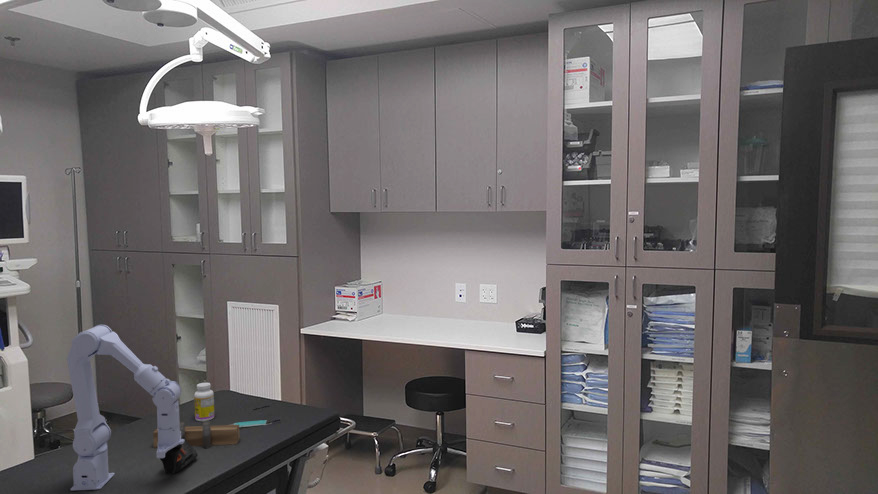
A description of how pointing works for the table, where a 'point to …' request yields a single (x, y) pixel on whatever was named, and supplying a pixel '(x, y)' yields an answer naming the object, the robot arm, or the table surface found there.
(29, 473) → the table surface
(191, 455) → the battery
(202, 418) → the supplement bottle
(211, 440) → the bar
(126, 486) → the table surface
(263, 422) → the surgical mask
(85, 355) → the robot arm
